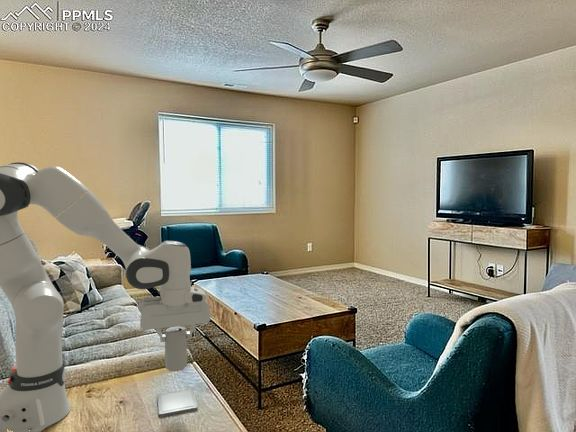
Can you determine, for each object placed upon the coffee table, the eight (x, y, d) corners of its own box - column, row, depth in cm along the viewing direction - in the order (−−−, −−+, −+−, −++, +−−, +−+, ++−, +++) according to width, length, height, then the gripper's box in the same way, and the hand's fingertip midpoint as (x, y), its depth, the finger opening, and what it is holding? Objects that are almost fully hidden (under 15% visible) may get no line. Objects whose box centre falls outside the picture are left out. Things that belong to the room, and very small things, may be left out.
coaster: (158, 416, 113) (158, 413, 113) (157, 396, 124) (157, 393, 124) (197, 409, 117) (197, 406, 117) (193, 390, 127) (193, 387, 127)
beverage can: (184, 372, 116) (184, 332, 115) (162, 372, 116) (162, 333, 115) (188, 363, 122) (188, 325, 122) (167, 363, 122) (167, 325, 121)
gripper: (138, 301, 110) (139, 348, 112) (211, 295, 117) (211, 339, 119) (138, 294, 116) (139, 339, 118) (208, 289, 123) (208, 331, 125)
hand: (176, 339), depth 118 cm, fingers closed on beverage can, 6 cm apart
